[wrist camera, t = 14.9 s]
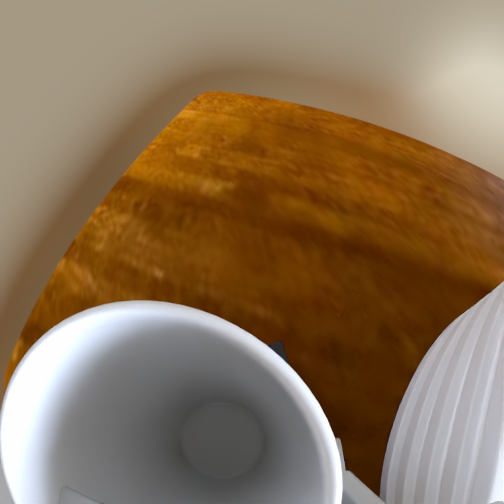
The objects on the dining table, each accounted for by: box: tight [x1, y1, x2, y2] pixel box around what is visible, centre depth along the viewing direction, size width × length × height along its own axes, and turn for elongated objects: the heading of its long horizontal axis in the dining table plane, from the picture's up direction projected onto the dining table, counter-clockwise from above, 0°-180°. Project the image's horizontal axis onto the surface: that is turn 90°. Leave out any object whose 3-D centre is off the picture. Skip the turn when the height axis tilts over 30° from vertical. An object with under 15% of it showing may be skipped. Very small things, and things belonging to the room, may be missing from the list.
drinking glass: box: [0, 300, 343, 504], centre depth 10 cm, size 7×7×15 cm
